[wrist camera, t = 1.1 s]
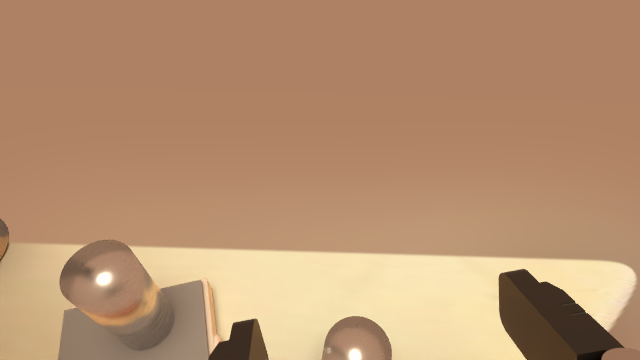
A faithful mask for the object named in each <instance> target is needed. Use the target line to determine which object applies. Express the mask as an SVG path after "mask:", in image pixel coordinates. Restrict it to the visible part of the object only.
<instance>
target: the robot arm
mask: <svg viewBox="0 0 640 360" xmlns="http://www.w3.org/2000/svg"><path fill="white" fill-rule="evenodd" d="M8 239H9V232H8V228H7V226H6V224H5V223H4V222H3V221H2V220H1V219H0V259H1V257H2V255H3V254H4V252H5V250H6V247H7V244H8ZM499 312H500V318H501V321H502V324H503V326H504V328H505V330H506V332H507V333H508V335H509V336H510V337H511V339H512V340H513V341H514V343H515V344H516V346H517V347H518V348H519V350H520V351H521V352H522V354H523V355H524V357H525V358H526V359H527V360H640V351H638V350H635V349H629V348H624V347H623V346H622V345H621V344H620V343H619V342H618V341H617V340H616V339H615V338H614V337H612V336H611V335H610V334H609V333H608V332H607V331H606V330H605V329H604V328H603V327H602V326H601V325H600V324H599V323H598V322H597V321H595V320H594V319H593V318H592V317H591V316H590V315H589V314H588V313H586V312H585V310H584V309H583V308H582V307H580V306H579V305H578V304H576V303H575V301H574V300H573V299H572V298H571V297H570V296H569V295H568V294H567V293H566V292H564V291H563V290H562V289H560V288H558V287H556V286H554V285H552V284H550V283H548V282H541V283H539V282H538V281H537V280H536V279H535V278H534V277H533V276H532V275H531V274H530V273H529V272H528V271H527V270H525V269H521V270H516V271H510V272H505V273H501V274H500V275H499ZM208 360H269V359H268V354H267V351H266V347H265V344H264V340H263V337H262V333H261V330H260V326H259V323H258V320H257V319H251V320H246V321H241V322H235V323H233V325H232V330H231V334H230V339H229V340H228V341H223V342H219V343H218V344H217V346H216V347H215V348H214V350H213V351H212V353H211V354H210V355H209V359H208Z"/></svg>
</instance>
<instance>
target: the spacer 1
mask: <svg viewBox="0 0 640 360" xmlns="http://www.w3.org/2000/svg"><path fill="white" fill-rule="evenodd" d="M60 289H61V292H62V294H63V295H64V297H65V298H66V299H67V300H69V301H70V302H71V303H72V304H74V305H75V306H76V307H77V308H79V309H80V310H81V311H83V312H84V313H85V314H86V315H88V316H89V317H90V318H91V319H93V320H94V321H95V322H96V323H98V324H99V325H100V326H101V327H103V328H104V329H105V330H107V331H108V332H109V333H110V334H112V335H113V336H114V337H115V338H117V339H118V340H119V341H120V342H122V343H123V344H124V345H125V346H127V347H128V348H130V349H133V350H147V349H151V348H153V347H155V346H157V345H158V344H160V343H161V342H162V341H163V340H164V339H165V338H166V337H167V336H168V335H169V333H170V331H171V330H172V327H173V324H174V317H175V316H174V310H173V308H172V306H171V304H170V303H169V302H168V300H167V299H166V298H165V296H164V295H163V293H162V292H161V291H160V289H159V288H158V286H157V285H156V284H155V282H154V281H153V280H152V278H151V277H150V275H149V274H148V273H147V271H146V270H145V269H144V267H143V266H142V264H141V263H140V262H139V260H138V259H137V257H136V256H135V255H134V253H133V252H132V251H131V249H130V248H129V247H128V246H127V245H125V244H124V243H122V242H119V241H115V240H102V241H97V242H94V243H91V244H89V245H87V246H85V247H83V248H81V249H80V250H79V251H77V252H76V253H75V254H74V255H73V256H72V257H71V258H70V259H69V260H68V261H67V263H66V264H65V266H64V268H63V270H62V272H61V276H60Z"/></svg>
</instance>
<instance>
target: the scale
mask: <svg viewBox="0 0 640 360" xmlns="http://www.w3.org/2000/svg"><path fill="white" fill-rule="evenodd" d="M160 291H161V292H162V293H163V295H164V296H165V298H166V299H167V300H168V302H169V303H170V304H171V306H172V308H173V310H174V316H175V317H174V324H173V327H172V330H171V331H170V333H169V335H168V336H167V337H166V338H165V339H164V340H163V341H162V342H161V343H160V344H158V345H157V346H155V347H153V348H151V349H147V350H133V349H130V348H128V347H127V346H125V345H124V344H123V343H122V342H120V341H119V340H118V339H117V338H115V337H114V336H113V335H112V334H110V333H109V332H108V331H107V330H105V329H104V328H103V327H101V326H100V325H99V324H98V323H96V322H95V321H94V320H93V319H91V318H90V317H89V316H88V315H86V314H85V313H84V312H83V311H81V310H80V309H79V308H73V309H69V310H64V316H63V324H62V332H61V341H60V349H59V357H58V360H208V359H209V355H210V354H211V353H212V351H213V350H214V348H215V347H216V346H217V344H218V343H219V342H221V337H220V335H219V334H218V335H217V333H216V324H215V315H214V305H213V296H212V288H211V286H210V284H209V282H208V280H207V278H206V279H201V280H197V281H193V282H188V283H184V284H179V285H175V286H170V287H166V288H162V289H160Z"/></svg>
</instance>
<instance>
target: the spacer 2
mask: <svg viewBox="0 0 640 360" xmlns="http://www.w3.org/2000/svg"><path fill="white" fill-rule="evenodd" d="M391 358H392V350H391V345H390V342H389V339H388V337H387V335H386V333H385V332H384V331H383V329H382V328H381V327H380V326H379V325H378V324H376V323H375V322H373V321H372V320H370V319H367V318H364V317H359V316H352V317H347V318H344V319H342V320H340V321H339V322H337V323H336V324H335V325H334V326H333V327H332V328H331V329H330V331H329V332H328V334H327V337H326V340H325V344H324V350H323V356H322V360H391Z"/></svg>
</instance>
